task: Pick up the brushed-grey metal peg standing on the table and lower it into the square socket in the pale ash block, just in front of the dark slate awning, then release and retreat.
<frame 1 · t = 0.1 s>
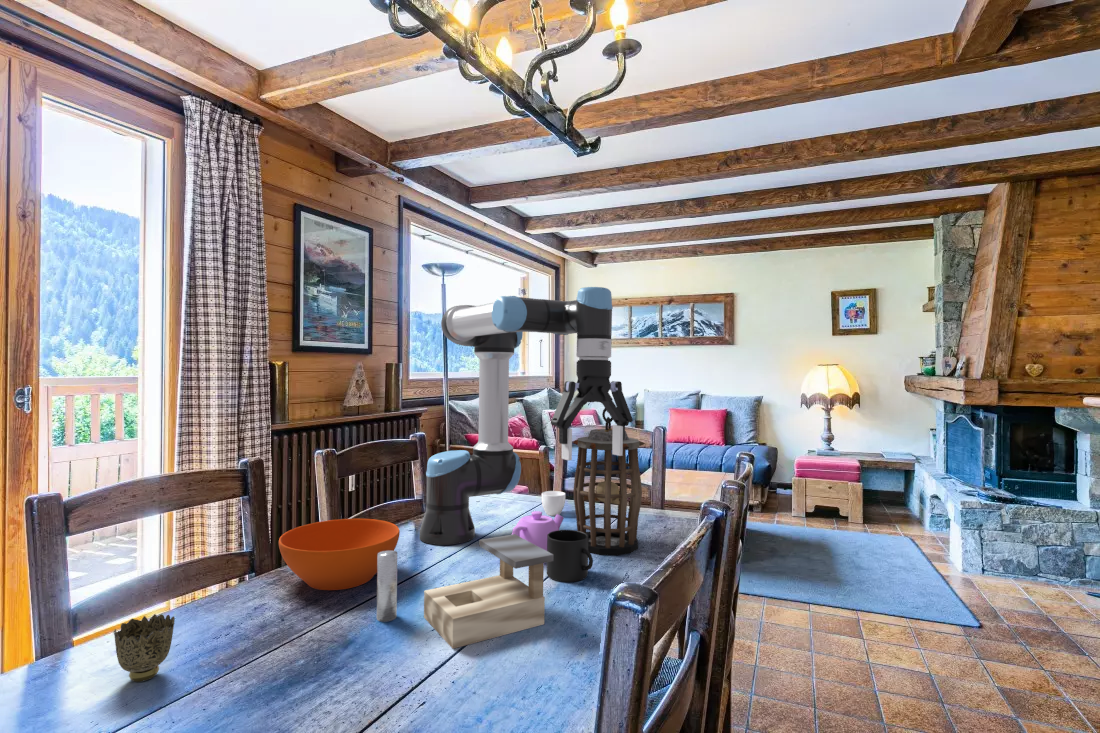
hand: (592, 457, 123), 28 cm above the table, fingers open, 13 cm apart
mug: (571, 577, 129), on the table
peg: (386, 617, 107), on the table
socket porch: (483, 620, 106), on the table
lantern: (606, 546, 152), on the table
teapot: (538, 553, 145), on the table
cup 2: (144, 678, 85), on the table
cup: (555, 514, 185), on the table
bowl: (340, 579, 126), on the table
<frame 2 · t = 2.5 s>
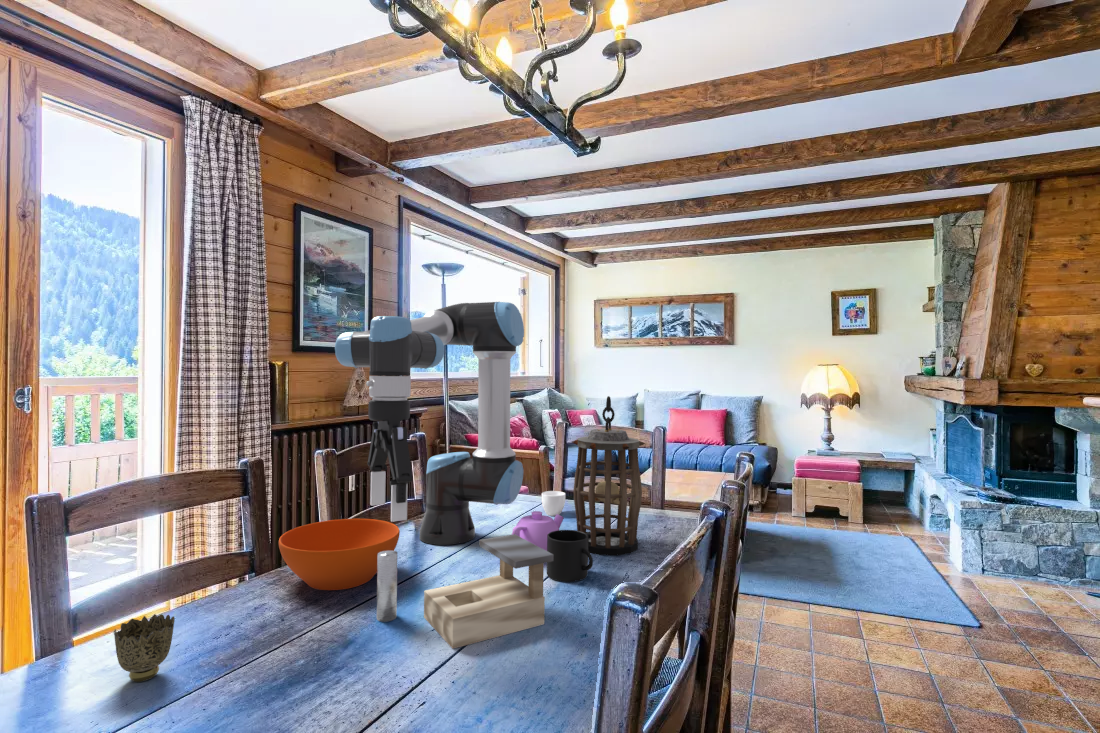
hand: (387, 512, 107), 20 cm above the table, fingers open, 13 cm apart
nothing on the table moved.
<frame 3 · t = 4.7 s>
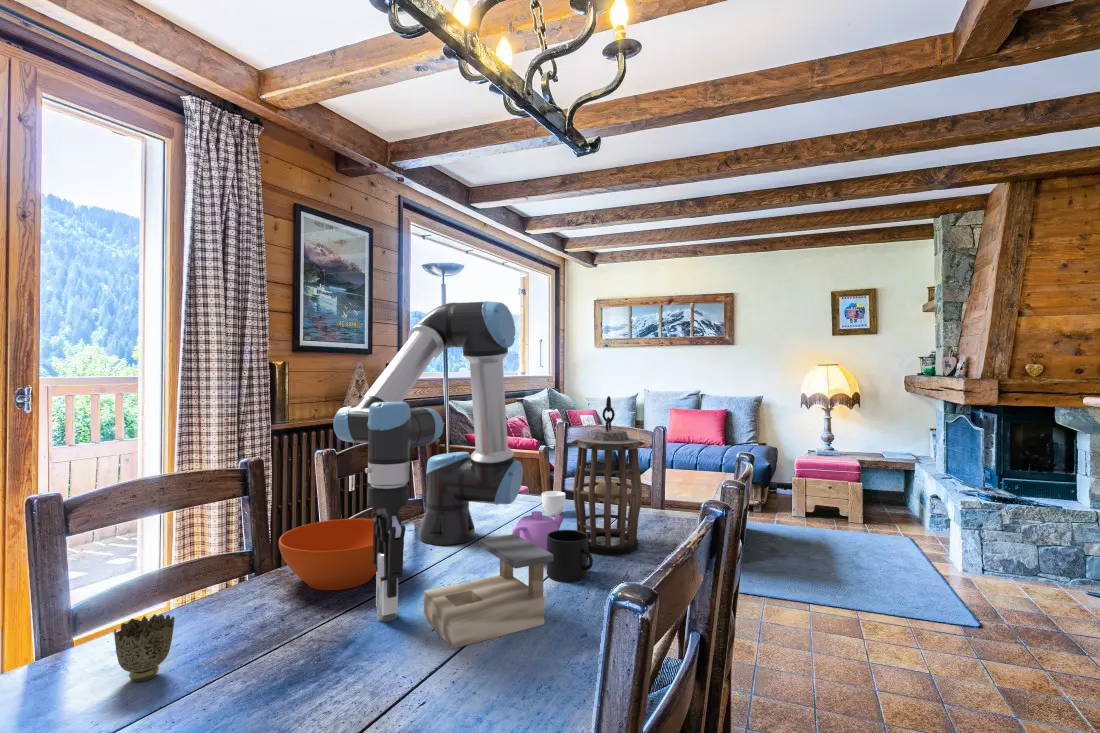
hand: (386, 608, 107), 2 cm above the table, fingers closed on peg, 3 cm apart
peg: (386, 617, 107), on the table, touching gripper
everything else where it was.
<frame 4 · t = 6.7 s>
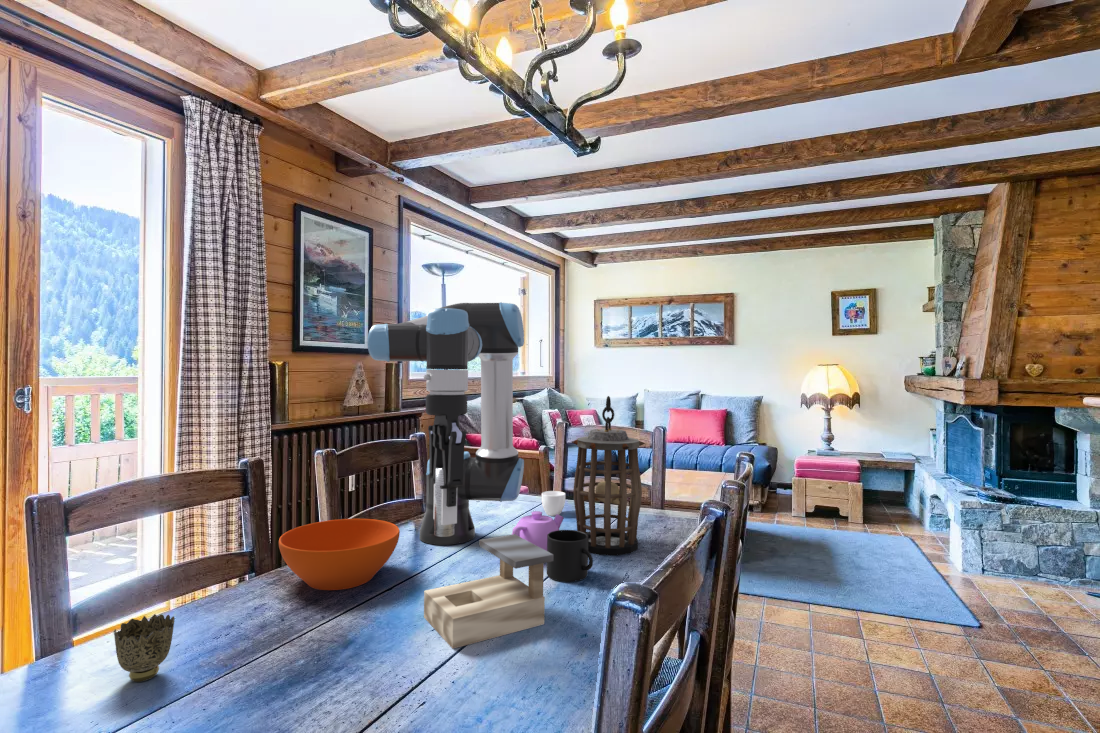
hand: (444, 520, 104), 19 cm above the table, fingers closed on peg, 3 cm apart
peg: (444, 533, 104), point 17 cm above the table, touching gripper
everything else where it was.
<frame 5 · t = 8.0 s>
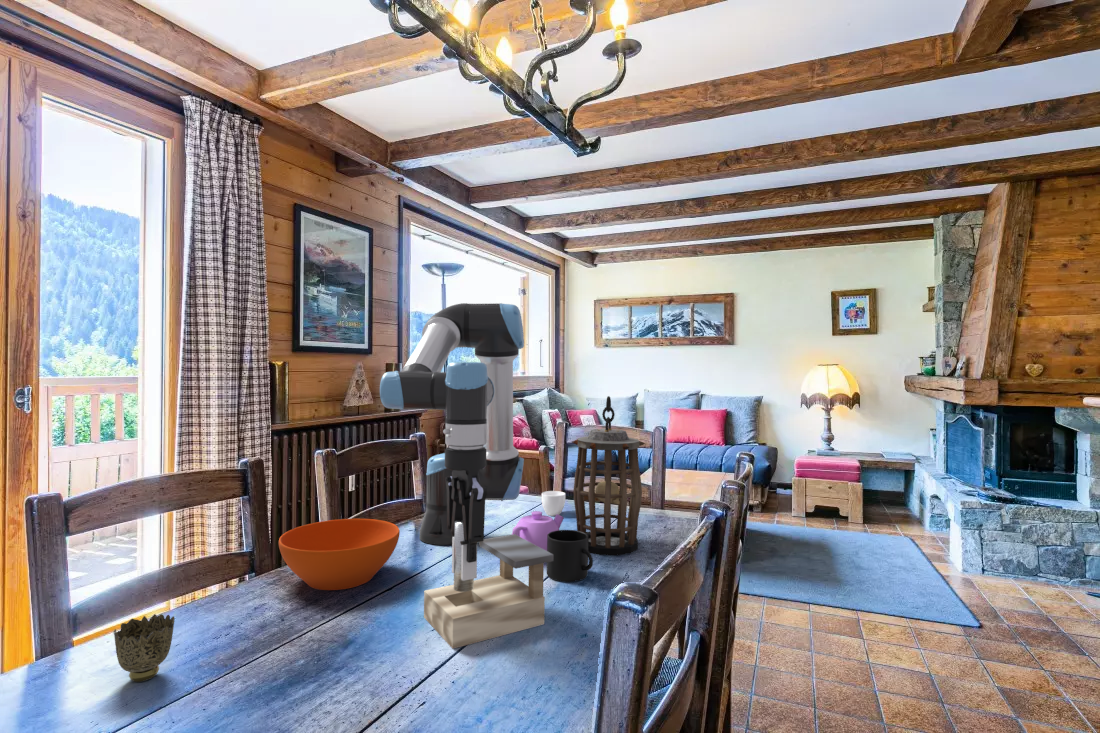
hand: (464, 574, 104), 9 cm above the table, fingers closed on peg, 3 cm apart
peg: (463, 587, 104), point 7 cm above the table, touching gripper
everything else where it was.
when the fingers open (6 cm above the table, at t = 8.9 s): peg drops 3 cm, resting in socket porch.
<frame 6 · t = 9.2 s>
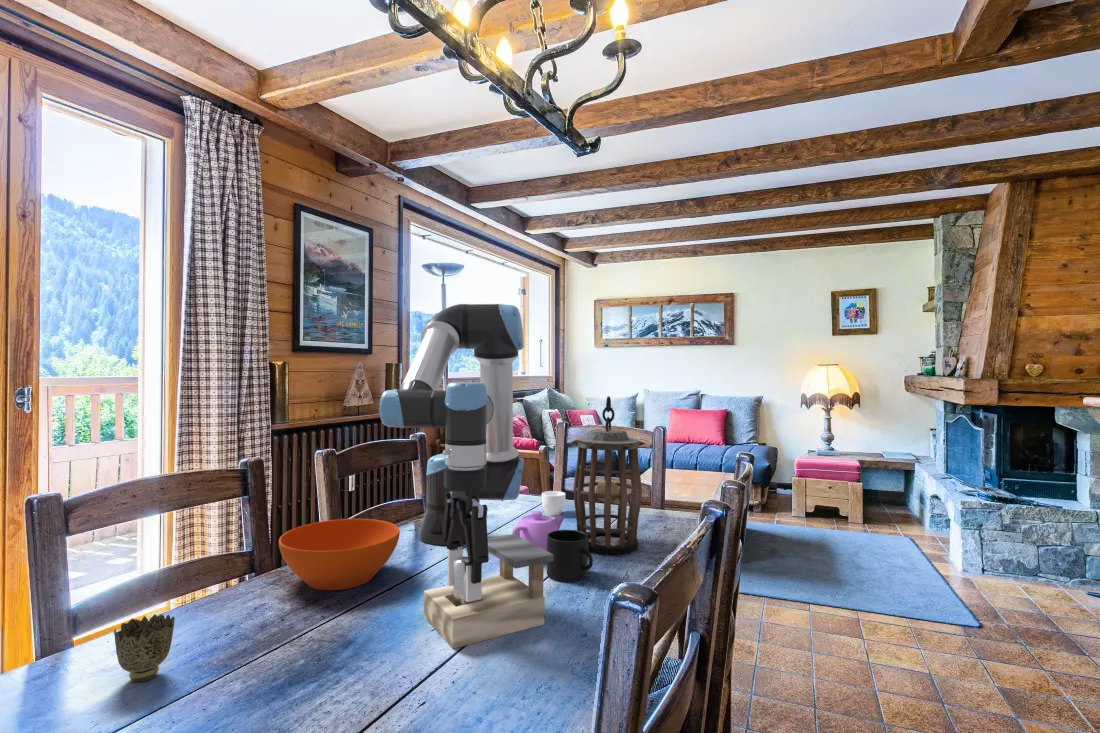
hand: (463, 591, 104), 6 cm above the table, fingers open, 8 cm apart
peg: (463, 625, 104), resting in socket porch
everything else where it was.
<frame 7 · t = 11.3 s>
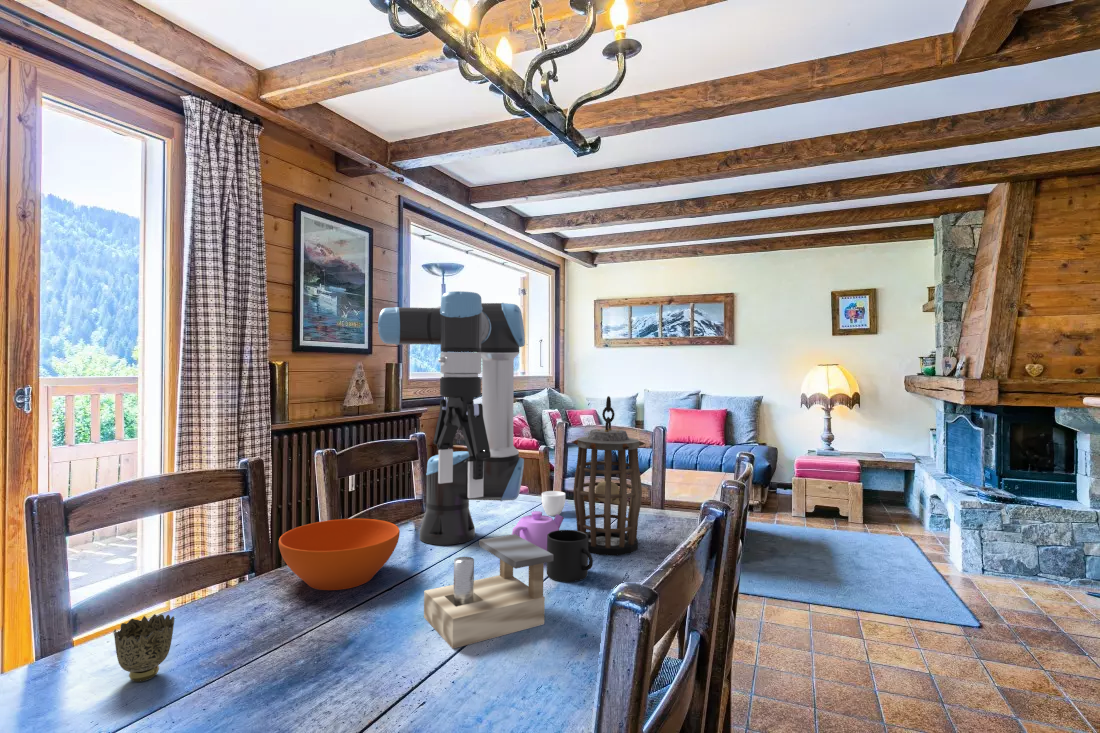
hand: (459, 489, 106), 24 cm above the table, fingers open, 13 cm apart
nothing on the table moved.
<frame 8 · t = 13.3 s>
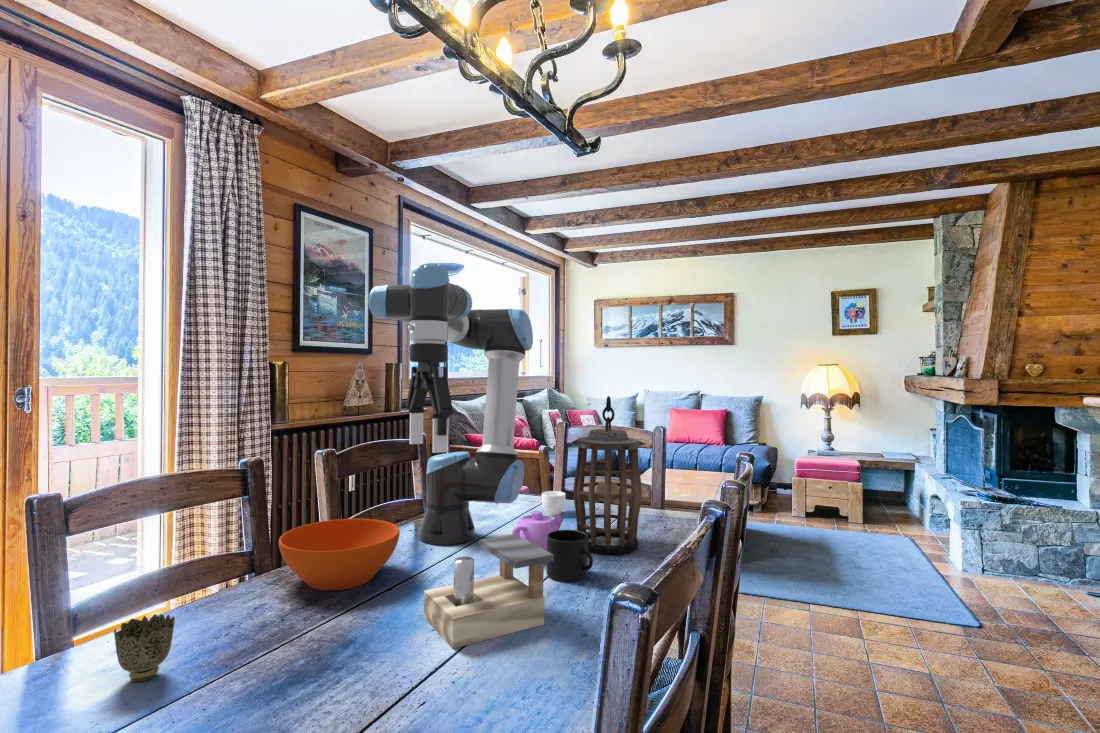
hand: (427, 448, 115), 31 cm above the table, fingers open, 13 cm apart
nothing on the table moved.
at the end: peg 0.1 cm from the target spot on the socket porch, point 0.0 cm above the socket porch's base; the gripper is holding nothing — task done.
